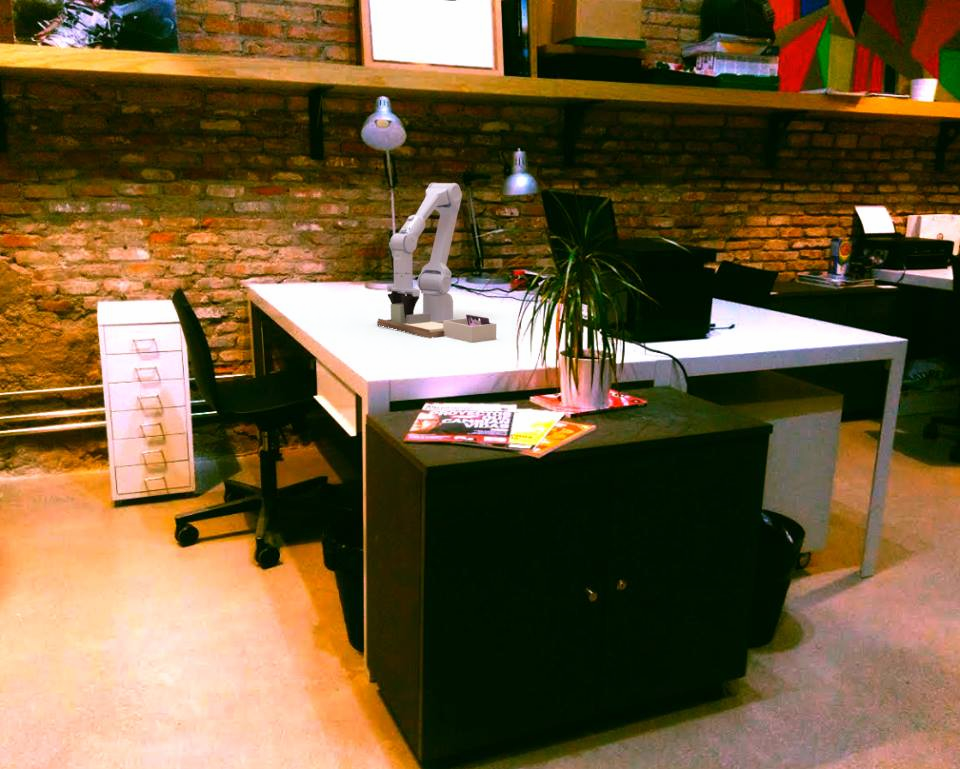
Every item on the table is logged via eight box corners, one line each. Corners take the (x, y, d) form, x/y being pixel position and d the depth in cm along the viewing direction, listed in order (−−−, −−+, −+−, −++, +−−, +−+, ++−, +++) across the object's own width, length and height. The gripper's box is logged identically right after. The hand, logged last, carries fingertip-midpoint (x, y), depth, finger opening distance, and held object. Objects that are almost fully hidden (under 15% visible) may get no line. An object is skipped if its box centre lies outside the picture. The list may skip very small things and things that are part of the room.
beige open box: (467, 332, 256) (467, 317, 255) (496, 339, 247) (496, 323, 246) (442, 335, 251) (442, 320, 250) (471, 342, 241) (471, 326, 240)
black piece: (490, 317, 244) (468, 313, 250) (477, 324, 241) (456, 320, 247) (495, 338, 247) (473, 333, 253) (483, 345, 244) (461, 341, 250)
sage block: (404, 321, 268) (403, 302, 266) (413, 323, 264) (413, 304, 262) (391, 323, 264) (390, 304, 263) (400, 325, 261) (399, 306, 259)
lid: (429, 323, 263) (429, 312, 262) (456, 328, 253) (456, 318, 253) (403, 326, 257) (403, 315, 256) (429, 332, 247) (429, 321, 246)
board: (406, 322, 274) (406, 315, 273) (459, 334, 254) (459, 326, 253) (377, 325, 267) (377, 318, 266) (429, 338, 247) (429, 330, 246)
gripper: (378, 271, 264) (379, 315, 267) (406, 275, 253) (406, 321, 256) (397, 270, 268) (398, 313, 271) (425, 274, 257) (425, 319, 261)
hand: (403, 317), depth 264 cm, fingers closed on sage block, 5 cm apart
